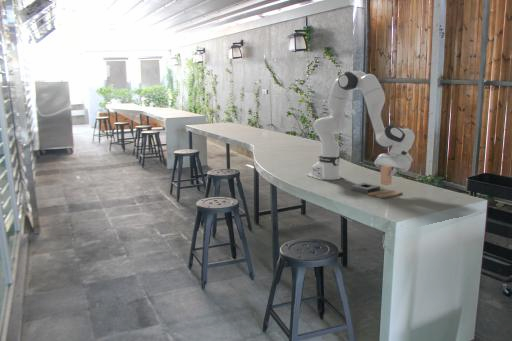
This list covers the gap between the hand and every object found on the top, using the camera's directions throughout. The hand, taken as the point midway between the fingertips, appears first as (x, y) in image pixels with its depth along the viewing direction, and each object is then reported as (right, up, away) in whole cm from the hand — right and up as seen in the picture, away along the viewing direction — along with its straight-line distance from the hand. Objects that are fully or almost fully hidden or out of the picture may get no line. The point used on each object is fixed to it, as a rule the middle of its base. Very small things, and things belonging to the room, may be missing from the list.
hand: (385, 174), depth 249 cm
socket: (-8, -9, +13) cm, 17 cm away
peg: (+1, -5, +1) cm, 5 cm away
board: (0, -11, +3) cm, 11 cm away
